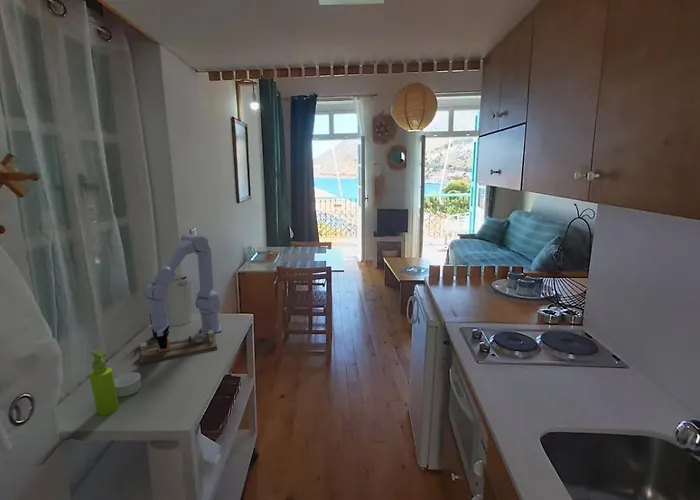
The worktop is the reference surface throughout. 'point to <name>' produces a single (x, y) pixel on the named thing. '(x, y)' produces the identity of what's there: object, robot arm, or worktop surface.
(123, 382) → the ramekin
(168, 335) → the sleeve
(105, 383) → the soap dispenser
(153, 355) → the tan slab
